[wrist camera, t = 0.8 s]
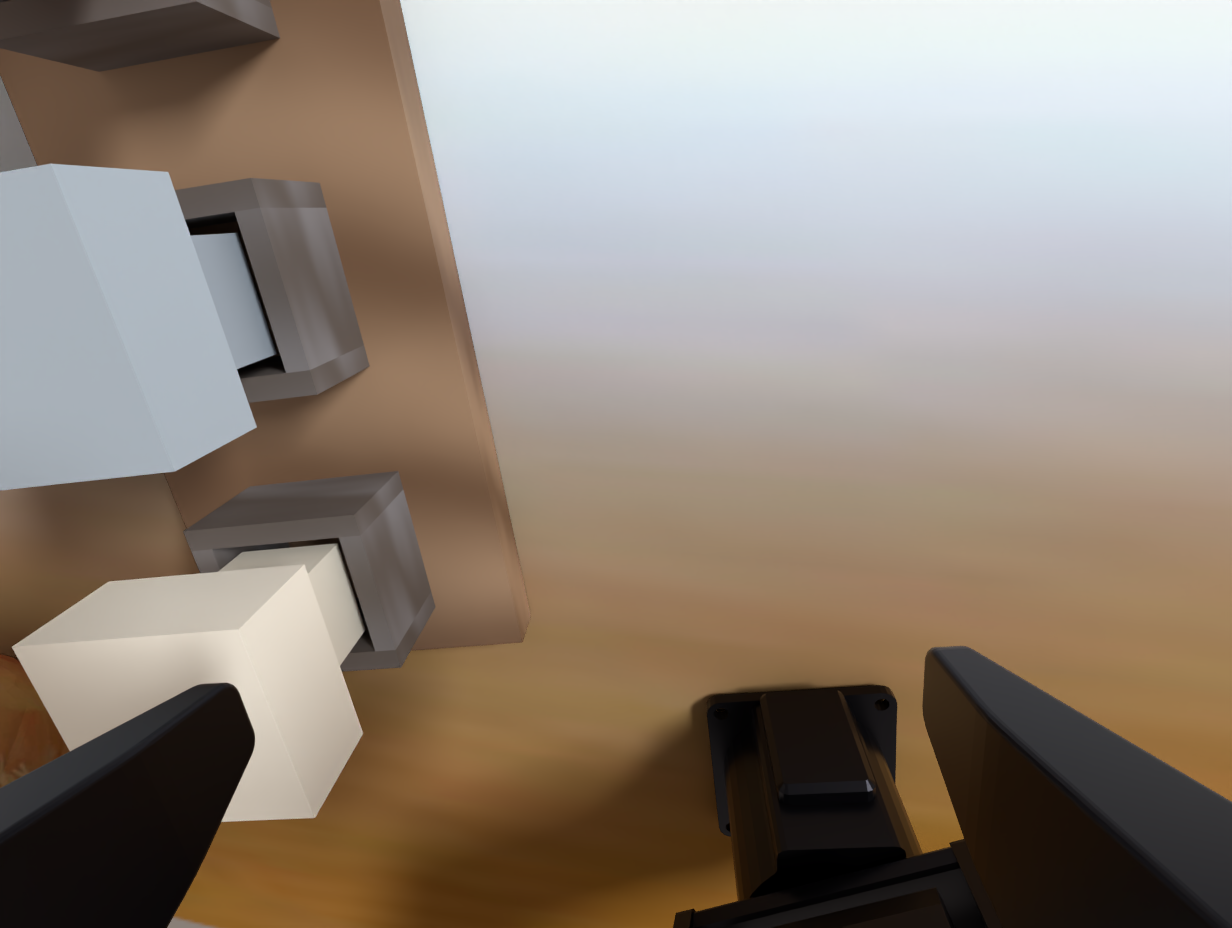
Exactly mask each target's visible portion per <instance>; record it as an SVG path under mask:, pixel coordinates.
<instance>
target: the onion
mask: <svg viewBox="0 0 1232 928" xmlns="http://www.w3.org/2000/svg"><path fill="white" fill-rule="evenodd" d="M68 752H70V751H69V749H68V747H67V745H66V744H65V742H64V740H63V738H62V736H61V735H60V733H59V731H58V729H57V727H56V726H55V724H54V722H53V720H52V718H51V717H50V715H49V713H48V711H47V709H46V708H45V706H44V704H43V702H42V701H41V699H40V697H39V695H38V693H37V692H36V690H35V688H34V686H33V684H32V683H31V681H30V679H29V677H28V675H27V674H26V672H25V670H24V668H23V666H22V665H21V663H20V661H18V660H17V659H15V658H13V657H10V656H6V655H1V654H0V788H1V787H3V786H5V785H7V784H9V783H10V782H12V781H14V780H16V779H18V778H20V777H22V776H24V775H26V774H28V773H30V772H31V771H33V770H35V769H37V768H39V767H41V766H43V765H45V764H47V763H49V762H51V761H52V760H54V759H56V758H58V757H60V756H62V755H64V754H66V753H68Z"/></svg>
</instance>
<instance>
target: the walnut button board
mask: <svg viewBox="0 0 1232 928" xmlns="http://www.w3.org/2000/svg"><path fill="white" fill-rule="evenodd" d="M0 76H1V78H2V81H3V83H4V85H5V88H6V90H7V93H8V95H9V98H10V100H11V102H12V105H13V107H14V110H15V112H16V115H17V117H18V119H19V122H20V124H21V127H22V129H23V132H24V134H25V137H26V139H27V141H28V144H29V146H30V149H31V151H32V154H33V156H34V158H35V161H36V163H37V166H40V165H46V164H63V165H77V166H91V167H105V168H119V169H133V170H148V171H162V172H168V173H169V175H170V178H171V181H172V184H173V187H174V190H175V193H176V196H177V199H178V201H179V204H180V207H181V210H182V213H183V216H184V219H185V222H186V224H187V227H188V230H189V233H190V236H193V235H209V234H226V233H238V236H239V239H240V242H241V245H242V248H243V251H244V254H245V257H246V260H247V264H248V267H249V270H250V273H251V276H252V279H253V282H254V285H255V288H256V291H257V295H258V298H259V301H260V304H261V307H262V310H263V313H264V316H265V319H266V322H267V326H268V329H269V332H270V335H271V338H272V341H273V344H274V347H275V350H276V355H273V356H270V357H268V358H265V359H262V360H260V361H257V362H254V363H252V364H249V365H246V366H244V367H241V368H239V369H237V371H238V374H239V377H240V380H241V383H242V386H243V389H244V392H245V394H246V397H247V400H248V403H249V406H250V409H251V412H252V415H253V418H254V420H255V423H256V426H257V427H256V428H255V429H253V430H251V431H249V432H247V433H245V434H244V435H242V436H240V437H238V438H236V439H234V440H232V441H231V442H229V443H227V444H225V445H223V446H221V447H219V448H218V449H216V450H214V451H212V452H210V453H208V454H206V455H205V456H203V457H201V458H199V459H197V460H195V461H194V462H192V463H190V464H188V465H186V466H184V467H182V468H181V469H179V470H177V471H175V472H166V473H164V475H165V477H166V480H167V482H168V484H169V487H170V489H171V492H172V494H173V497H174V499H175V502H176V504H177V506H178V509H179V511H180V514H181V516H182V519H183V521H184V523H185V526H186V528H187V529H186V530H184V531H183V532H184V535H185V537H186V540H187V542H188V544H189V547H190V549H191V552H192V554H193V556H194V559H195V561H196V564H197V566H198V569H199V571H200V573H211V572H218V571H220V570H221V569H222V568H223V567H224V566H226V565H227V564H228V563H229V562H231V561H232V560H233V559H234V558H235V557H237V556H238V555H239V554H240V553H242V552H249V551H259V550H270V549H281V548H292V547H303V546H314V545H325V544H335V543H338V546H339V549H340V552H341V555H342V558H343V561H344V565H345V568H346V571H347V574H348V577H349V580H350V583H351V586H352V589H353V592H354V596H355V599H356V602H357V605H358V608H359V611H360V614H361V617H362V620H363V624H364V627H365V631H364V633H363V634H362V635H361V637H360V638H359V640H358V641H357V643H356V644H355V645H354V647H353V648H352V650H351V651H350V652H349V654H348V655H347V657H346V658H345V660H344V661H343V662H342V664H341V665H340V668H341V671H357V670H372V669H386V668H401V667H402V665H403V663H404V661H405V660H406V658H407V656H408V654H409V653H410V651H411V650H424V649H438V648H452V647H466V646H479V645H493V644H507V643H521V642H523V639H524V636H525V633H526V630H527V627H528V624H529V621H530V618H531V613H530V609H529V604H528V599H527V595H526V590H525V585H524V581H523V576H522V571H521V567H520V562H519V557H518V552H517V548H516V543H515V538H514V534H513V529H512V524H511V520H510V515H509V510H508V506H507V501H506V496H505V492H504V487H503V482H502V477H501V473H500V468H499V463H498V459H497V454H496V449H495V445H494V440H493V435H492V431H491V426H490V421H489V417H488V412H487V407H486V403H485V398H484V393H483V388H482V384H481V379H480V374H479V370H478V365H477V360H476V356H475V351H474V346H473V342H472V337H471V332H470V328H469V323H468V318H467V313H466V309H465V304H464V299H463V295H462V290H461V285H460V281H459V276H458V271H457V267H456V262H455V257H454V253H453V248H452V243H451V238H450V234H449V229H448V224H447V220H446V215H445V210H444V206H443V201H442V196H441V192H440V187H439V182H438V178H437V173H436V168H435V163H434V159H433V154H432V149H431V145H430V140H429V135H428V131H427V126H426V121H425V117H424V112H423V107H422V103H421V98H420V93H419V88H418V84H417V79H416V74H415V70H414V65H413V60H412V56H411V51H410V46H409V42H408V37H407V32H406V28H405V23H404V18H403V14H402V9H401V4H400V0H0Z"/></svg>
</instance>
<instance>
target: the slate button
mask: <svg viewBox="0 0 1232 928" xmlns="http://www.w3.org/2000/svg"><path fill="white" fill-rule="evenodd" d="M273 355H276V350H275V347H274V344H273V341H272V338H271V335H270V332H269V329H268V326H267V322H266V319H265V316H264V313H263V310H262V307H261V304H260V301H259V298H258V295H257V291H256V288H255V285H254V282H253V279H252V276H251V273H250V270H249V267H248V264H247V260H246V257H245V254H244V251H243V248H242V245H241V242H240V239H239V236H238V233H226V234H209V235H193V236H190V233H189V230H188V227H187V224H186V222H185V219H184V216H183V213H182V210H181V207H180V204H179V201H178V199H177V196H176V193H175V190H174V187H173V184H172V181H171V178H170V175H169V173H168V172H162V171H148V170H133V169H119V168H105V167H91V166H77V165H63V164H46V165H40V166H34V167H28V168H22V169H16V170H10V171H5V172H0V490H9V489H18V488H27V487H37V486H46V485H55V484H64V483H73V482H83V481H92V480H101V479H110V478H120V477H129V476H138V475H147V474H156V473H166V472H175V471H177V470H179V469H181V468H182V467H184V466H186V465H188V464H190V463H192V462H194V461H195V460H197V459H199V458H201V457H203V456H205V455H206V454H208V453H210V452H212V451H214V450H216V449H218V448H219V447H221V446H223V445H225V444H227V443H229V442H231V441H232V440H234V439H236V438H238V437H240V436H242V435H244V434H245V433H247V432H249V431H251V430H253V429H255V428H256V427H257V426H256V423H255V420H254V418H253V415H252V412H251V409H250V406H249V403H248V400H247V397H246V394H245V392H244V389H243V386H242V383H241V380H240V377H239V374H238V371H237V369H239V368H241V367H244V366H246V365H249V364H252V363H254V362H257V361H260V360H262V359H265V358H268V357H270V356H273Z"/></svg>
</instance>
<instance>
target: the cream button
mask: <svg viewBox="0 0 1232 928" xmlns="http://www.w3.org/2000/svg"><path fill="white" fill-rule="evenodd" d="M364 631H365V627H364V624H363V620H362V617H361V614H360V611H359V608H358V605H357V602H356V599H355V596H354V592H353V589H352V586H351V583H350V580H349V577H348V574H347V571H346V568H345V565H344V561H343V558H342V555H341V552H340V549H339V546H338V543H335V544H325V545H314V546H303V547H292V548H281V549H270V550H259V551H249V552H242V553H240V554H239V555H238V556H237V557H235V558H234V559H233V560H232V561H231V562H229V563H228V564H227V565H226V566H224V567H223V568H222V569H221V570H220V571H218V572H211V573H200V574H188V575H177V576H166V577H155V578H143V579H132V580H121V581H110V582H107V583H106V584H104V585H103V586H101V587H100V588H98V589H97V590H95V591H94V592H92V593H91V594H89V595H88V596H86V597H85V598H84V599H82V600H81V601H79V602H78V603H76V604H75V605H73V606H72V607H70V608H69V609H67V610H66V611H64V612H63V613H61V614H60V615H58V616H57V617H55V618H54V619H52V620H51V621H49V622H48V623H46V624H45V625H43V626H42V627H40V628H39V629H38V630H36V631H35V632H33V633H32V634H30V635H29V636H27V637H26V638H24V639H23V640H21V641H20V642H18V643H17V644H15V645H14V646H12V648H13V650H14V652H15V654H16V656H17V657H18V659H19V661H20V663H21V665H22V666H23V668H24V670H25V672H26V674H27V675H28V677H29V679H30V681H31V683H32V684H33V686H34V688H35V690H36V692H37V693H38V695H39V697H40V699H41V701H42V702H43V704H44V706H45V708H46V709H47V711H48V713H49V715H50V717H51V718H52V720H53V722H54V724H55V726H56V727H57V729H58V731H59V733H60V735H61V736H62V738H63V740H64V742H65V744H66V745H67V747H68V749H69V751H71V750H73V749H75V748H77V747H79V746H81V745H83V744H85V743H87V742H89V741H91V740H92V739H94V738H96V737H98V736H100V735H102V734H104V733H106V732H108V731H110V730H111V729H113V728H115V727H117V726H119V725H121V724H123V723H125V722H127V721H129V720H131V719H132V718H134V717H136V716H138V715H140V714H142V713H144V712H146V711H148V710H150V709H152V708H153V707H155V706H157V705H159V704H161V703H163V702H165V701H167V700H169V699H171V698H172V697H174V696H176V695H178V694H180V693H182V692H184V691H186V690H188V689H190V688H192V687H194V686H196V685H199V684H206V683H230V684H233V685H234V686H235V687H236V688H237V689H238V691H239V693H240V696H241V698H242V701H243V703H244V706H245V709H246V711H247V714H248V716H249V719H250V722H251V724H252V727H253V729H254V733H255V746H254V750H253V753H252V756H251V758H250V760H249V762H248V765H247V767H246V769H245V771H244V773H243V776H242V778H241V780H240V782H239V784H238V786H237V789H236V791H235V793H234V795H233V797H232V799H231V802H230V804H229V806H228V808H227V810H226V812H225V815H224V817H223V819H222V821H221V822H229V821H252V820H276V819H300V818H315V817H316V815H317V813H318V812H319V810H320V808H321V806H322V805H323V803H324V801H325V800H326V798H327V796H328V794H329V793H330V791H331V789H332V787H333V786H334V784H335V782H336V780H337V779H338V777H339V775H340V773H341V772H342V770H343V768H344V766H345V765H346V763H347V761H348V759H349V758H350V756H351V754H352V752H353V751H354V749H355V747H356V745H357V744H358V742H359V740H360V738H361V737H362V735H363V732H362V729H361V726H360V723H359V720H358V717H357V714H356V711H355V709H354V706H353V703H352V700H351V697H350V694H349V691H348V688H347V686H346V683H345V680H344V677H343V674H342V671H341V668H340V665H341V664H342V662H343V661H344V660H345V658H346V657H347V655H348V654H349V652H350V651H351V650H352V648H353V647H354V645H355V644H356V643H357V641H358V640H359V638H360V637H361V635H362V634H363V633H364Z"/></svg>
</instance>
